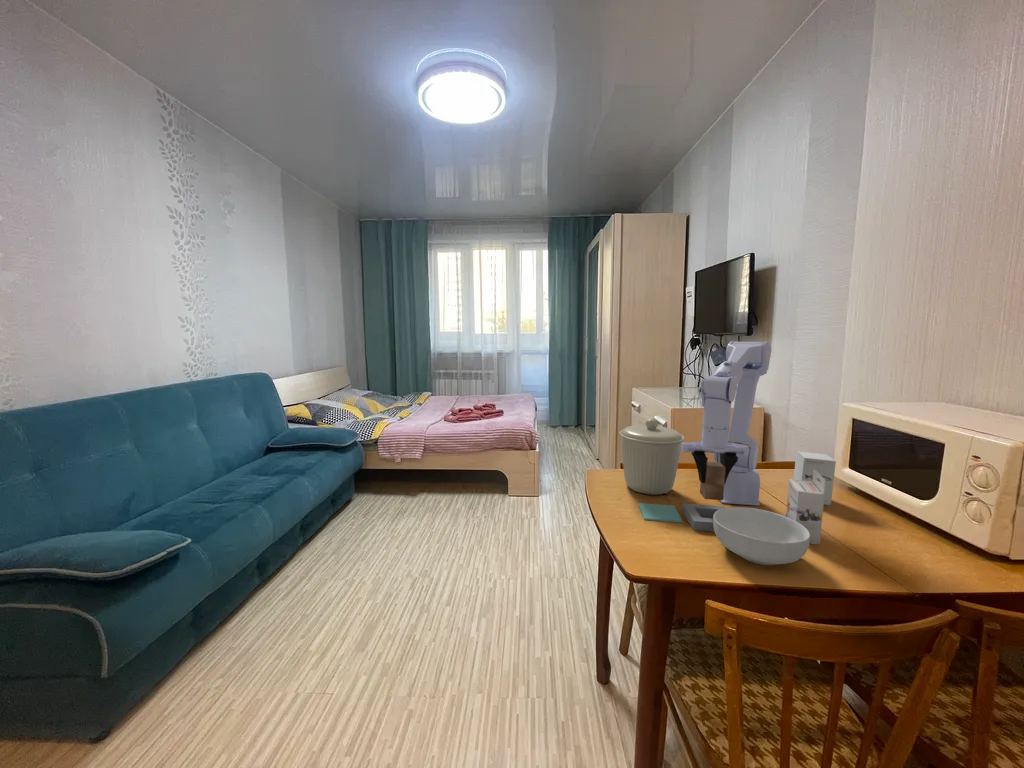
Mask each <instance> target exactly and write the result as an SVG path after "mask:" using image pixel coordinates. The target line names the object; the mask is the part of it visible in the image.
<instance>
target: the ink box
mask: <svg viewBox="0 0 1024 768" xmlns="http://www.w3.org/2000/svg"><path fill="white" fill-rule="evenodd" d="M817 478H819V480H820V481H821V484H820V482H819V481H818V480H817ZM825 483H826V480H825V479H824V478H823V477H822V476H821V475H820V474H819V473H818V472H817V471H816V470H815V469H813V480H812V482H811V481H803V480H795V479H794V478H789V479H788V489H787V490H788V491H787V500H786V512H785V517H788V518H790V519H792V520H794V521H796V522H798V523H800V524H801V525H803V526H804V527H805V528H806V529H807V530H808V531H809V533H810V542H809V544H812V545H820V544H821V535H822V534H821V533H822V532H821V531H822V523H823V514H824V495H825V494H824V493H825Z"/></svg>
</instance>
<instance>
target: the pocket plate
mask: <svg viewBox="0 0 1024 768" xmlns="http://www.w3.org/2000/svg"><path fill="white" fill-rule="evenodd" d="M723 508H726V506H724V505H723V506H722V505H709V504H696V503H682V509H681V510H682V514H683V515H684V518H686V520H687V522H688V523H689V524H690V525H689V526H691V529H692V531H701V532H702V531H704V532H714V533H715V531H714V527H713V515H714V513H715V512H716V511H718V510H720V509H723Z"/></svg>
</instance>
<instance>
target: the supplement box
mask: <svg viewBox="0 0 1024 768" xmlns="http://www.w3.org/2000/svg"><path fill="white" fill-rule="evenodd" d="M794 461H795V462H794V473H793V479H795V480H803V481H811V482H812V480H813V469H815V470H816V471H817V472H818V473H819V474H820V475H821V476H822V477H823V478H824V479H825V480H826V483H825V493H824V494H825V495H824V505H825V506H831V505H832V499H833V488H834V480H835V472H836V463H837V461H836V460H835V459H834V458H832V457H831V456H830V455H829V454H826V453H817V452H808V451H801V450H800V451H799V450H798V451H796V453H795V460H794ZM817 480H818V481H819V482H820V484H821V481H820V480H819V478H817Z"/></svg>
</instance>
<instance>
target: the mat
mask: <svg viewBox="0 0 1024 768" xmlns="http://www.w3.org/2000/svg"><path fill="white" fill-rule="evenodd" d="M638 506H639V509H640V511H641V515H642V518H643V520H645V521H657V522H670V523H671V522H672V523H681V524H682V523H684V521H683V519H682V517H681V516H680V514H679V511H678V510H677V509H676V506H675V505H670V504H668V505H667V504H654V503H640V502H639V503H638Z"/></svg>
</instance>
